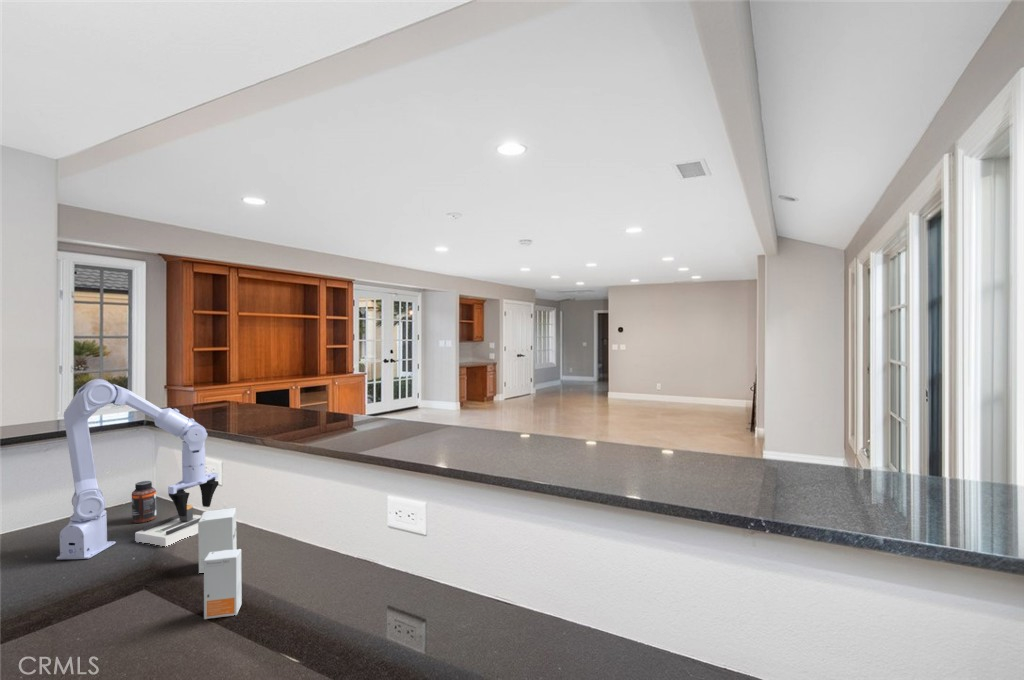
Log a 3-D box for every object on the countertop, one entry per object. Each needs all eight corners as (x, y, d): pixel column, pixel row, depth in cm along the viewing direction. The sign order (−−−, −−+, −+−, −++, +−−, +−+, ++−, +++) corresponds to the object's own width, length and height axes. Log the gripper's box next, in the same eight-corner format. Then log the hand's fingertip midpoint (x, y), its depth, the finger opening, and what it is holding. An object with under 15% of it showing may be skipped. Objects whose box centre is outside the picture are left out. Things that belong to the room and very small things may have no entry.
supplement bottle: (161, 516, 156) (160, 479, 156) (145, 524, 150) (144, 485, 150) (143, 515, 157) (142, 479, 157) (126, 523, 151) (126, 485, 151)
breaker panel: (165, 547, 134) (165, 534, 134) (135, 541, 138) (135, 529, 138) (214, 526, 149) (214, 514, 149) (186, 521, 152) (185, 510, 152)
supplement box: (233, 569, 122) (232, 517, 122) (197, 575, 119) (196, 521, 119) (237, 556, 129) (236, 506, 129) (203, 561, 126) (202, 510, 126)
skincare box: (203, 620, 101) (202, 560, 100) (210, 609, 105) (208, 551, 105) (237, 616, 102) (236, 556, 102) (242, 604, 107) (241, 547, 106)
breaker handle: (187, 521, 145) (187, 507, 145) (179, 520, 146) (179, 506, 146) (193, 519, 147) (192, 505, 146) (185, 518, 147) (184, 504, 147)
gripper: (181, 472, 140) (182, 521, 141) (225, 459, 154) (226, 504, 154) (162, 470, 142) (163, 518, 143) (207, 457, 156) (208, 501, 157)
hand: (194, 511), depth 149 cm, fingers open, 7 cm apart
